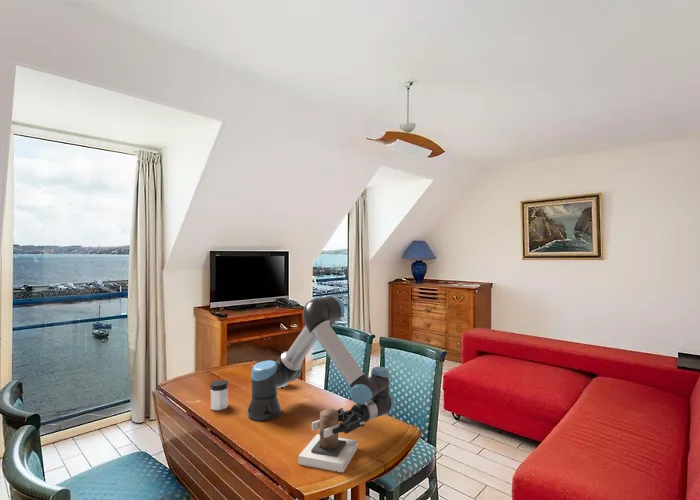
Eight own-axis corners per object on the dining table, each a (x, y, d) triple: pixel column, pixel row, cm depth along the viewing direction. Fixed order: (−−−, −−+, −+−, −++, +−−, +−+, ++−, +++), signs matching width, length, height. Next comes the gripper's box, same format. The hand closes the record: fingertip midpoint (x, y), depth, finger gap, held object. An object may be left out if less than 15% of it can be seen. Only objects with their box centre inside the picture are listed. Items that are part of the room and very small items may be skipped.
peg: (317, 458, 141) (317, 415, 141) (324, 449, 147) (323, 408, 147) (334, 461, 139) (334, 418, 139) (340, 452, 145) (340, 410, 145)
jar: (223, 402, 193) (222, 378, 193) (232, 406, 188) (232, 381, 188) (206, 407, 186) (206, 383, 186) (215, 412, 181) (215, 387, 181)
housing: (298, 464, 137) (298, 453, 137) (317, 441, 154) (317, 431, 154) (343, 472, 132) (343, 461, 132) (357, 448, 148) (357, 438, 148)
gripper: (381, 429, 148) (335, 451, 132) (347, 413, 162) (302, 430, 147) (381, 410, 147) (335, 429, 132) (347, 395, 162) (302, 411, 147)
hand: (318, 430), depth 139 cm, fingers closed on peg, 7 cm apart
